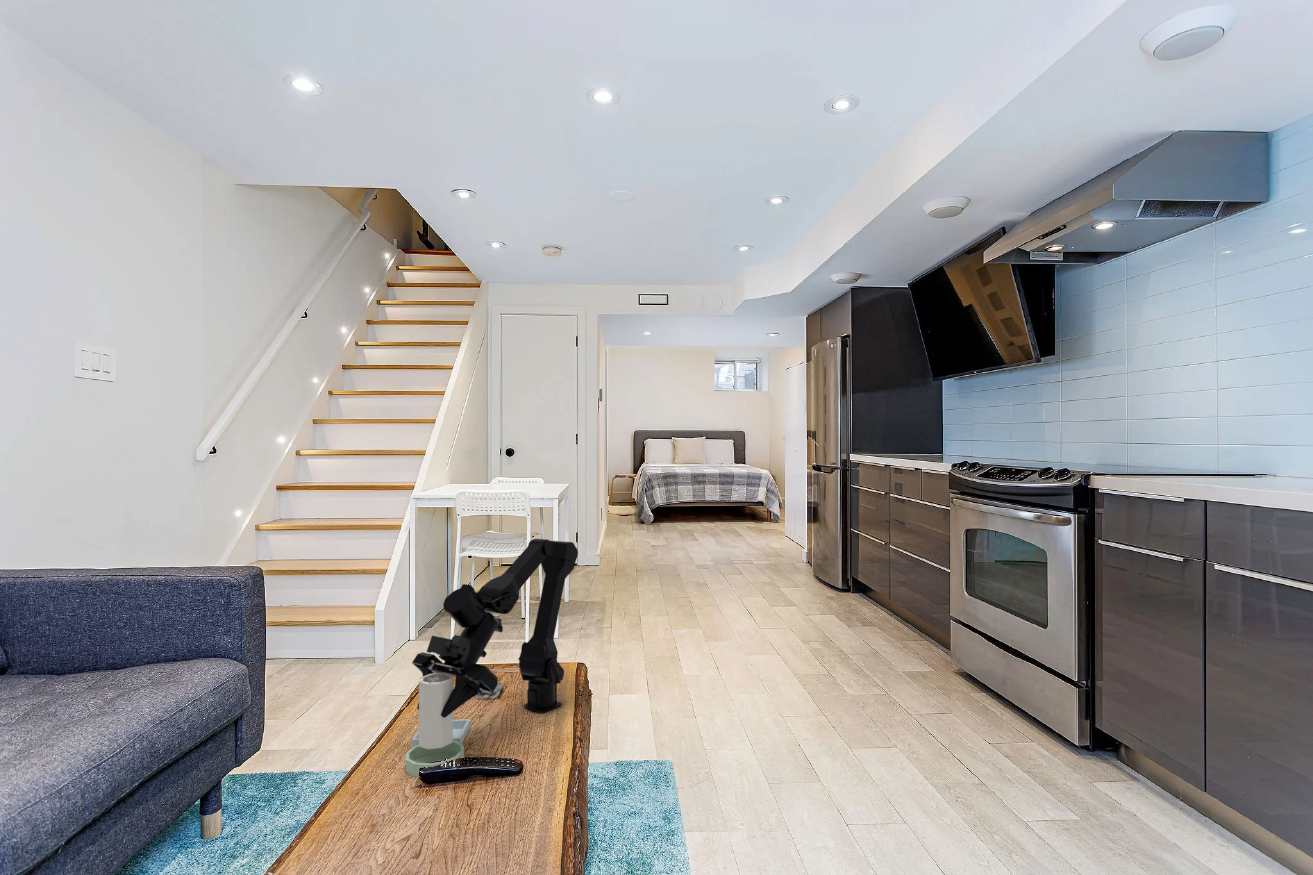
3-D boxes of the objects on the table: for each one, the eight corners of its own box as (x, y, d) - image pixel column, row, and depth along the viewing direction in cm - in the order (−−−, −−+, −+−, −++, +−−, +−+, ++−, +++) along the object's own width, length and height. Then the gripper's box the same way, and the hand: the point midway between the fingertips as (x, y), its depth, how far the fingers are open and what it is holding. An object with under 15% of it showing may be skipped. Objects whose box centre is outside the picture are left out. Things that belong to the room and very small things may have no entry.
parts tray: (424, 732, 139) (425, 720, 139) (470, 730, 139) (470, 719, 139) (411, 752, 129) (411, 739, 129) (460, 751, 130) (460, 738, 130)
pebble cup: (437, 732, 127) (437, 668, 128) (459, 738, 124) (459, 673, 125) (412, 744, 122) (412, 678, 122) (434, 751, 119) (435, 683, 119)
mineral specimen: (503, 703, 156) (503, 686, 156) (466, 706, 154) (467, 688, 154) (503, 682, 170) (503, 666, 170) (470, 685, 168) (470, 668, 168)
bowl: (442, 750, 130) (442, 735, 130) (474, 765, 124) (474, 749, 124) (394, 769, 122) (394, 753, 122) (426, 787, 116) (426, 770, 116)
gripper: (419, 612, 132) (372, 683, 122) (487, 624, 123) (441, 702, 113) (449, 641, 138) (406, 711, 129) (515, 654, 129) (474, 730, 119)
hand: (430, 713), depth 122 cm, fingers closed on pebble cup, 6 cm apart
